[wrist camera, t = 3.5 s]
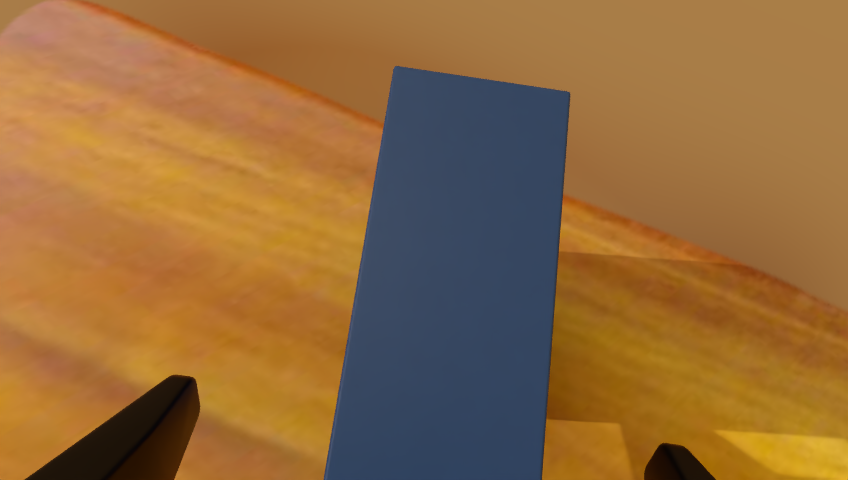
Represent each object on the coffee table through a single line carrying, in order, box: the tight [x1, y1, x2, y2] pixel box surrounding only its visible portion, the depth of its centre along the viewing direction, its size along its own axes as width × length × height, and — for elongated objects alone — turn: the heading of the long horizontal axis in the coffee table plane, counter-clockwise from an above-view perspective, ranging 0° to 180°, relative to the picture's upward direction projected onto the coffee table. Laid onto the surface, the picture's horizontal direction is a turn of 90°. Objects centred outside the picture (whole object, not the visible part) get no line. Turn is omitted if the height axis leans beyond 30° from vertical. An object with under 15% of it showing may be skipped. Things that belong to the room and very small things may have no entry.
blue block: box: [324, 66, 570, 480], centre depth 14 cm, size 3×6×12 cm, turn 172°
